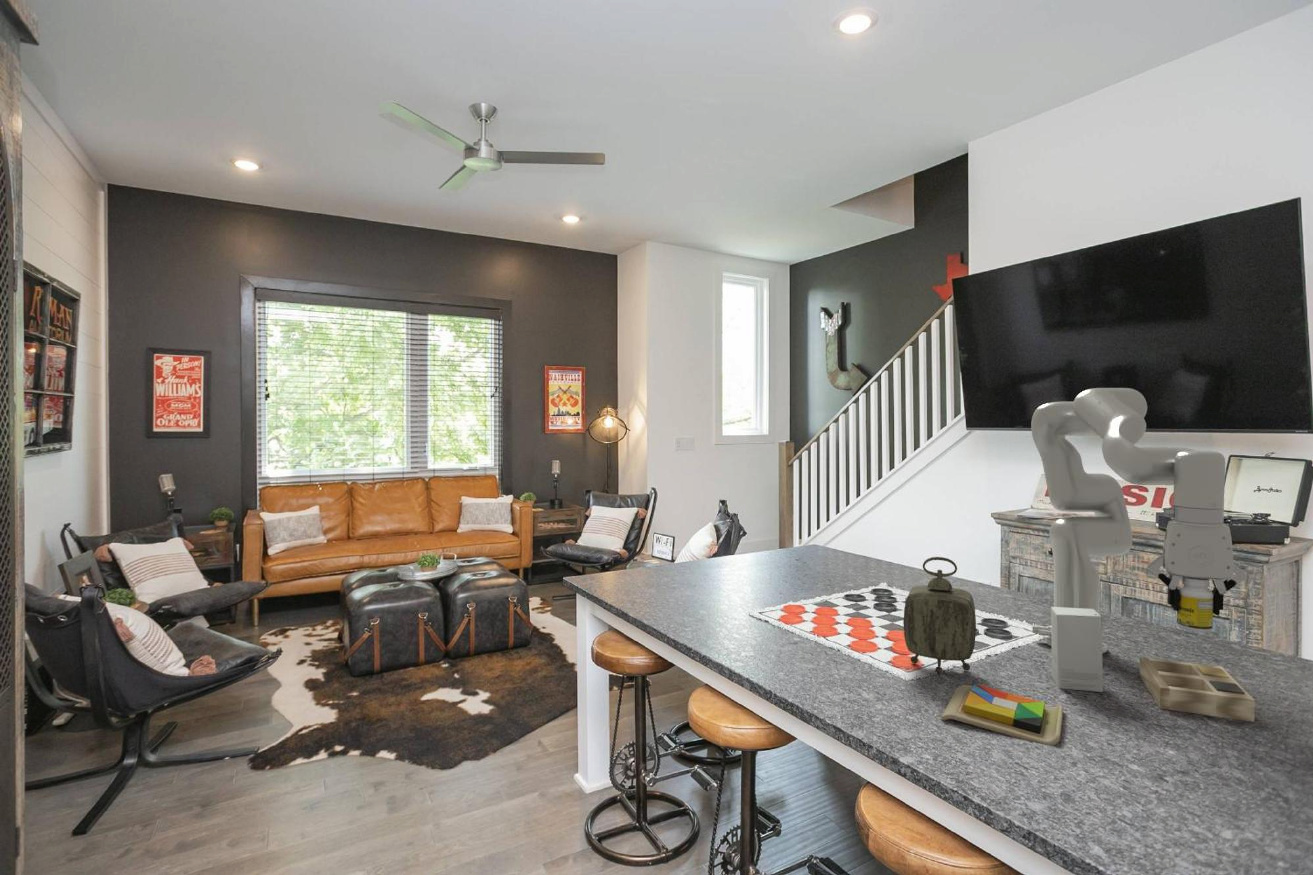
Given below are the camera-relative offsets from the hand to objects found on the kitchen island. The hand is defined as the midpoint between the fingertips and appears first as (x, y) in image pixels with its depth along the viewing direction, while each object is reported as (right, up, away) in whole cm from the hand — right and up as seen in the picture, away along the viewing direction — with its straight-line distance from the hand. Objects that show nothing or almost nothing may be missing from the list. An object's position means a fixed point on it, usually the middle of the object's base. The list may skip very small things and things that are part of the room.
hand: (1194, 610), depth 130 cm
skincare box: (-16, -19, +11) cm, 27 cm away
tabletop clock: (-40, -19, +20) cm, 49 cm away
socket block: (+4, -19, +5) cm, 20 cm away
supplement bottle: (0, -4, 0) cm, 4 cm away
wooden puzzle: (-38, -20, -3) cm, 43 cm away
